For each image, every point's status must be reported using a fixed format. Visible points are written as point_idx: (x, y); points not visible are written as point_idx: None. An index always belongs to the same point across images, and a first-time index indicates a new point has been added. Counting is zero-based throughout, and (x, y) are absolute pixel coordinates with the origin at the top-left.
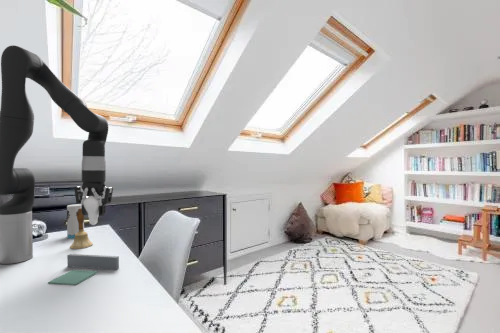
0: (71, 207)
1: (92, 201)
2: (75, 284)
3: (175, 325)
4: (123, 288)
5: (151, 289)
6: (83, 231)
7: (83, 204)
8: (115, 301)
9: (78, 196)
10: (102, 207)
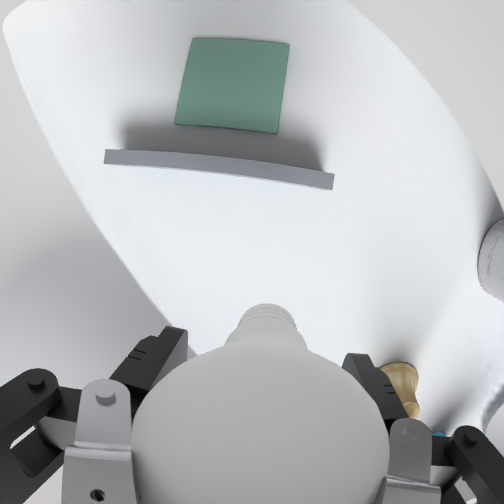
0: (466, 498)
1: (182, 416)
2: (194, 39)
3: (12, 13)
4: (74, 55)
5: (30, 71)
6: None
7: (390, 427)
8: (77, 15)
9: (488, 489)
10: (115, 375)
